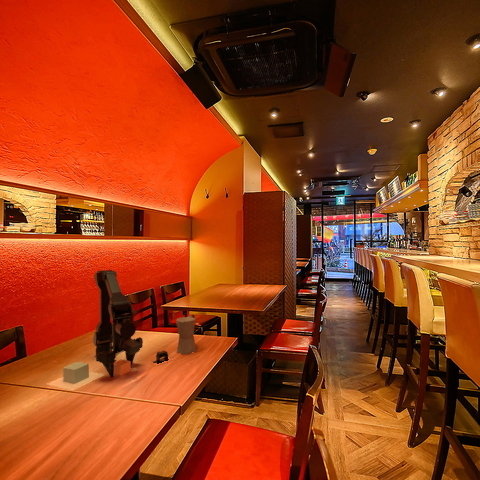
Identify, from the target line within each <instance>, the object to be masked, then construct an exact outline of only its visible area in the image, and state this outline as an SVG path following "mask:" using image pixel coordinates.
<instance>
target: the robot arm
mask: <svg viewBox="0 0 480 480" xmlns="http://www.w3.org/2000/svg"><path fill="white" fill-rule="evenodd" d="M93 275H94V276H93V281H94V282H95V286H97V288H98V291H99V321H98V323H97V325H96V326H95V332H94V334H93V338H92V342H93V343H92V344H93V345H94V346H95V347H96V348H95V355H94V357H95V358H96V359H95V361H96V362H99V363H101V364H102V365H103V366H104V368H105V370H106V372H107V374H108V375H109V377H110V378H113V377H114V375H115V374H114V363H115V362H116V361H117V359H116V357H117V355H119V354H121V353H123V352H124V354H125V360H127V361H131V367H132V365H133V363H134V359H135V356H136V354H137V353H139V352H140V351H141V349H142V348H143V343H144V342H143V338H142V337H136V338H132V337H133V336H134V335H135V334H136V332H137V328H136V324H134V323H133V322H131V318H133V319H134V314H135V312H134V309H133V305H132V303H131V301H129V299H128V296H126V295H125V294H123V292H122V289H121V286H120V283H119V281H118V278H117V277H118V275H117V271H116V270H112V269H103V270H97V271H96V272H95V273H94V274H93Z"/></svg>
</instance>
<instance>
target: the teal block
mask: <svg viewBox="0 0 480 480" xmlns="http://www.w3.org/2000/svg"><path fill="white" fill-rule="evenodd" d="M89 365H90V364H89V363H86V362H82V361H81V362H80V361H76V362H74V363H70V364H69V365H66V366H63V369H62V370H63V371H62V374H63V375H62V377H63V381H64V382H69V383H73V384H76V383H78V382H80V381H82V380H84V379H86V378H88V377H89V371H90V366H89Z"/></svg>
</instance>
